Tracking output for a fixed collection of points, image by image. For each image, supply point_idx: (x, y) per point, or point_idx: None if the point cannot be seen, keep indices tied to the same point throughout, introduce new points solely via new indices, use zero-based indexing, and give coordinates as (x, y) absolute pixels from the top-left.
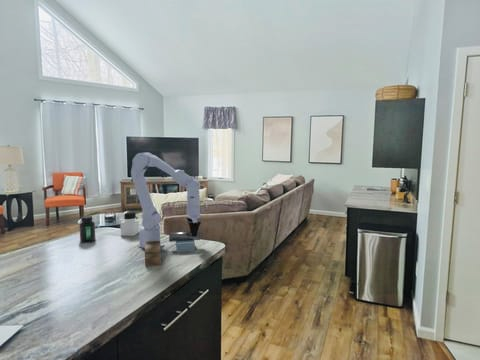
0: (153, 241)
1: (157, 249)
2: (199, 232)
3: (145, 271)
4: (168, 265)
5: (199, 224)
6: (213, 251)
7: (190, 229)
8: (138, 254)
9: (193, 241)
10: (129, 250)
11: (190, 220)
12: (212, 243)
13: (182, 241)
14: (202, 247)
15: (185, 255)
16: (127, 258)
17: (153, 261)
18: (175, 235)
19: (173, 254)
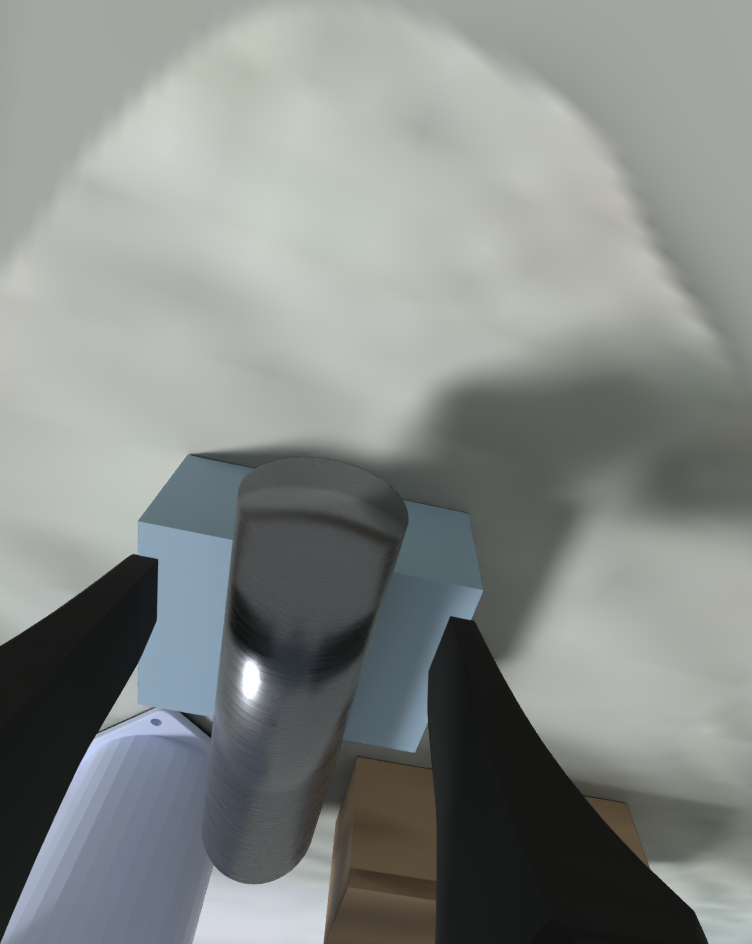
0: (347, 921)
1: None
2: (356, 566)
3: (677, 872)
4: (684, 773)
5: (673, 909)
6: (629, 295)
7: (134, 665)
8: (328, 852)
9: (429, 590)
10: (217, 871)
11: (3, 878)
12: (240, 142)
13: (362, 692)
14: (377, 381)
15: (547, 626)
16: None
17: None
18: (309, 822)
19: None
